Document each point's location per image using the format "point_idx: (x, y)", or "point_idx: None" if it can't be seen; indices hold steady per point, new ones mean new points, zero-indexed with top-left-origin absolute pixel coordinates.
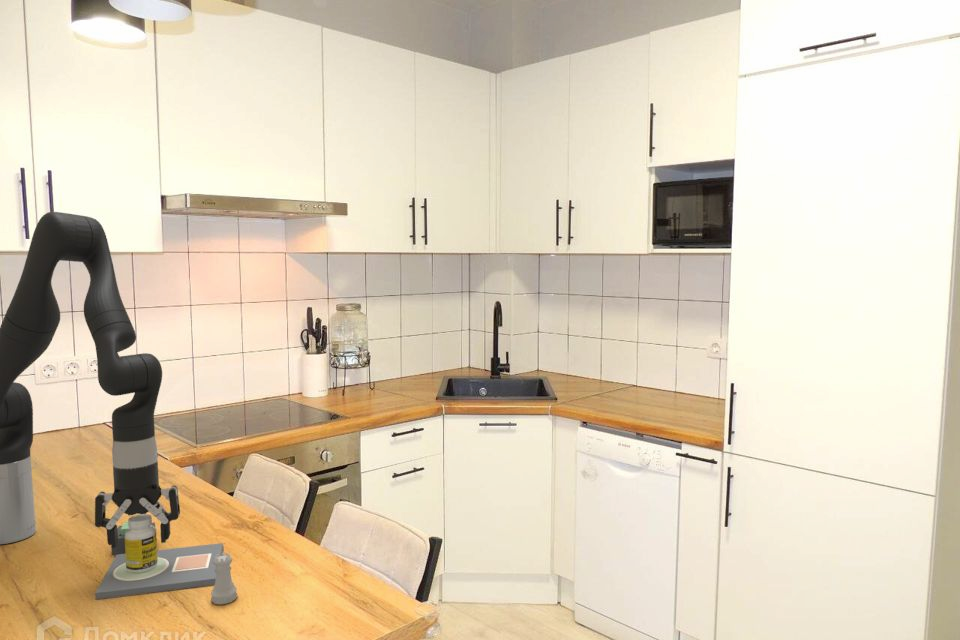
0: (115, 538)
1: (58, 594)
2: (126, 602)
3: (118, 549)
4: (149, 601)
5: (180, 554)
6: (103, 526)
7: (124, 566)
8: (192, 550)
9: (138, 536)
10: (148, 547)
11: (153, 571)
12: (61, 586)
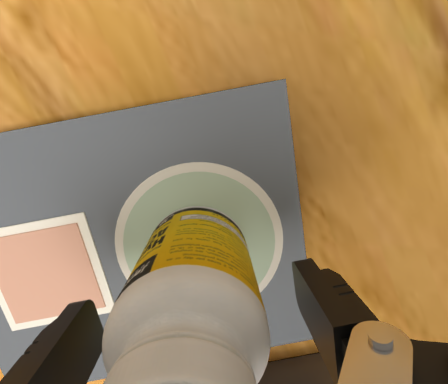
0: (307, 292)
1: (404, 131)
2: (169, 52)
3: (322, 368)
4: (93, 51)
5: None
6: (425, 345)
7: (259, 258)
8: None
9: (162, 283)
10: (138, 262)
11: (146, 216)
12: (411, 182)
